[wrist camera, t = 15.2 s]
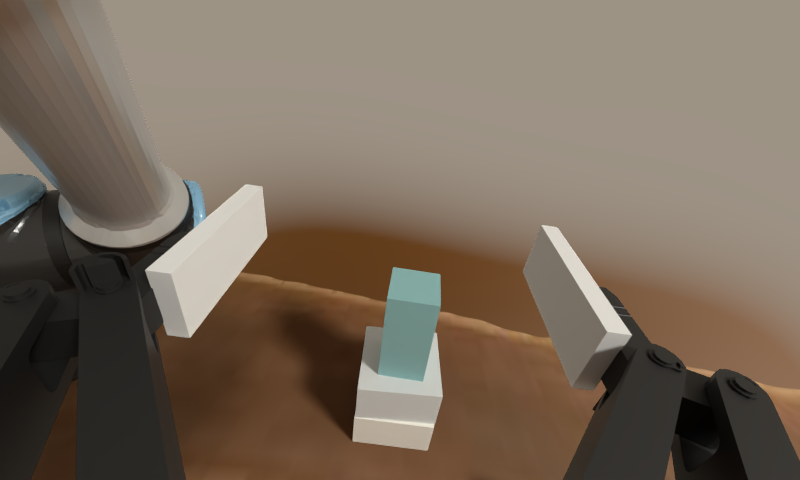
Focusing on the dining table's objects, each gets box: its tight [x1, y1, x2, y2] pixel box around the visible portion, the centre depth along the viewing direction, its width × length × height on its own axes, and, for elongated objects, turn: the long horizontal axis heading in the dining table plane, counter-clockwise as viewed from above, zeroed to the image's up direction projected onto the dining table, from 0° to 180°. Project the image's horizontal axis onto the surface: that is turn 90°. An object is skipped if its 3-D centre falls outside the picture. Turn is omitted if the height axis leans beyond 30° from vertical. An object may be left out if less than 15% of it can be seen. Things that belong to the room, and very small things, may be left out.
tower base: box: [352, 411, 434, 451], centre depth 43 cm, size 9×9×5 cm
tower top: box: [355, 326, 443, 424], centre depth 40 cm, size 9×9×5 cm
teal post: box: [378, 267, 441, 382], centre depth 36 cm, size 5×5×11 cm
